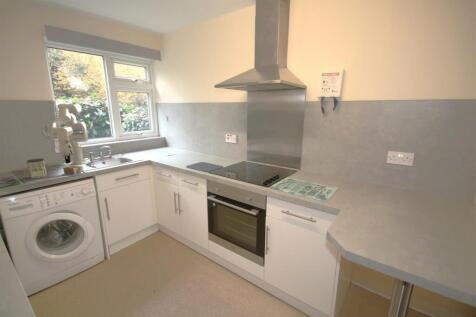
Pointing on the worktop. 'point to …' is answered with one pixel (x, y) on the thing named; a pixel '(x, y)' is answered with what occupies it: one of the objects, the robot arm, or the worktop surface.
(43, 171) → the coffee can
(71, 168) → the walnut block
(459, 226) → the worktop surface
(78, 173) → the mat
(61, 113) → the robot arm
